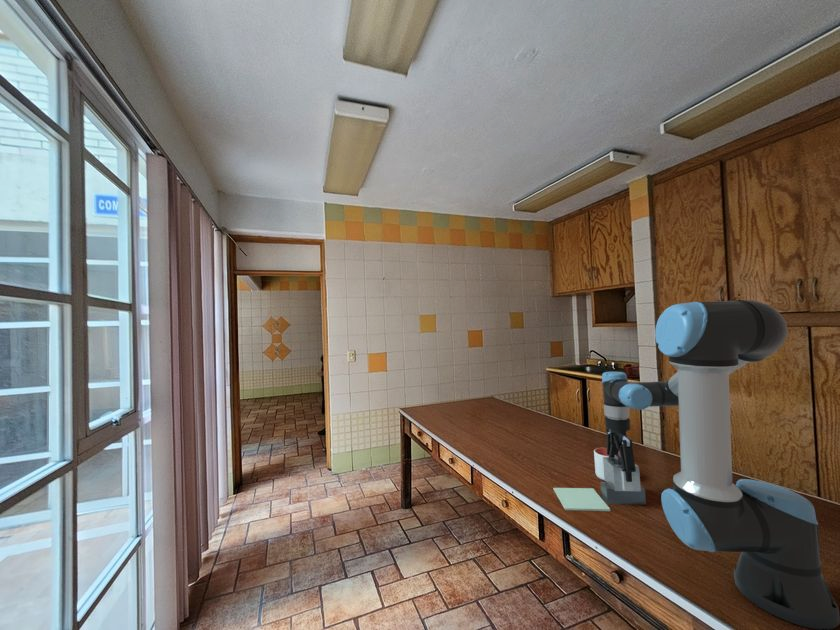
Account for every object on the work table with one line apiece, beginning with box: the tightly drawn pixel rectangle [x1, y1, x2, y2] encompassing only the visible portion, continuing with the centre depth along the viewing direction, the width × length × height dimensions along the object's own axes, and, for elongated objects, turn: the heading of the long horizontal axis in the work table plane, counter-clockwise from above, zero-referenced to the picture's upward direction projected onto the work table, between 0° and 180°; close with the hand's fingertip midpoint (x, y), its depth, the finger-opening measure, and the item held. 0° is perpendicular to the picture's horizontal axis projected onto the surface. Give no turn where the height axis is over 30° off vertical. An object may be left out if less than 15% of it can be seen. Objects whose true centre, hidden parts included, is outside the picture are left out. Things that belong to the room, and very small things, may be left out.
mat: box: [553, 487, 611, 512], centre depth 114 cm, size 14×14×1 cm
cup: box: [593, 447, 620, 482], centre depth 129 cm, size 10×10×10 cm
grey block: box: [599, 454, 647, 506], centre depth 112 cm, size 5×12×15 cm, turn 83°
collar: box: [603, 457, 641, 491], centre depth 112 cm, size 8×8×8 cm
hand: (621, 484), depth 112 cm, fingers closed on collar, 8 cm apart
